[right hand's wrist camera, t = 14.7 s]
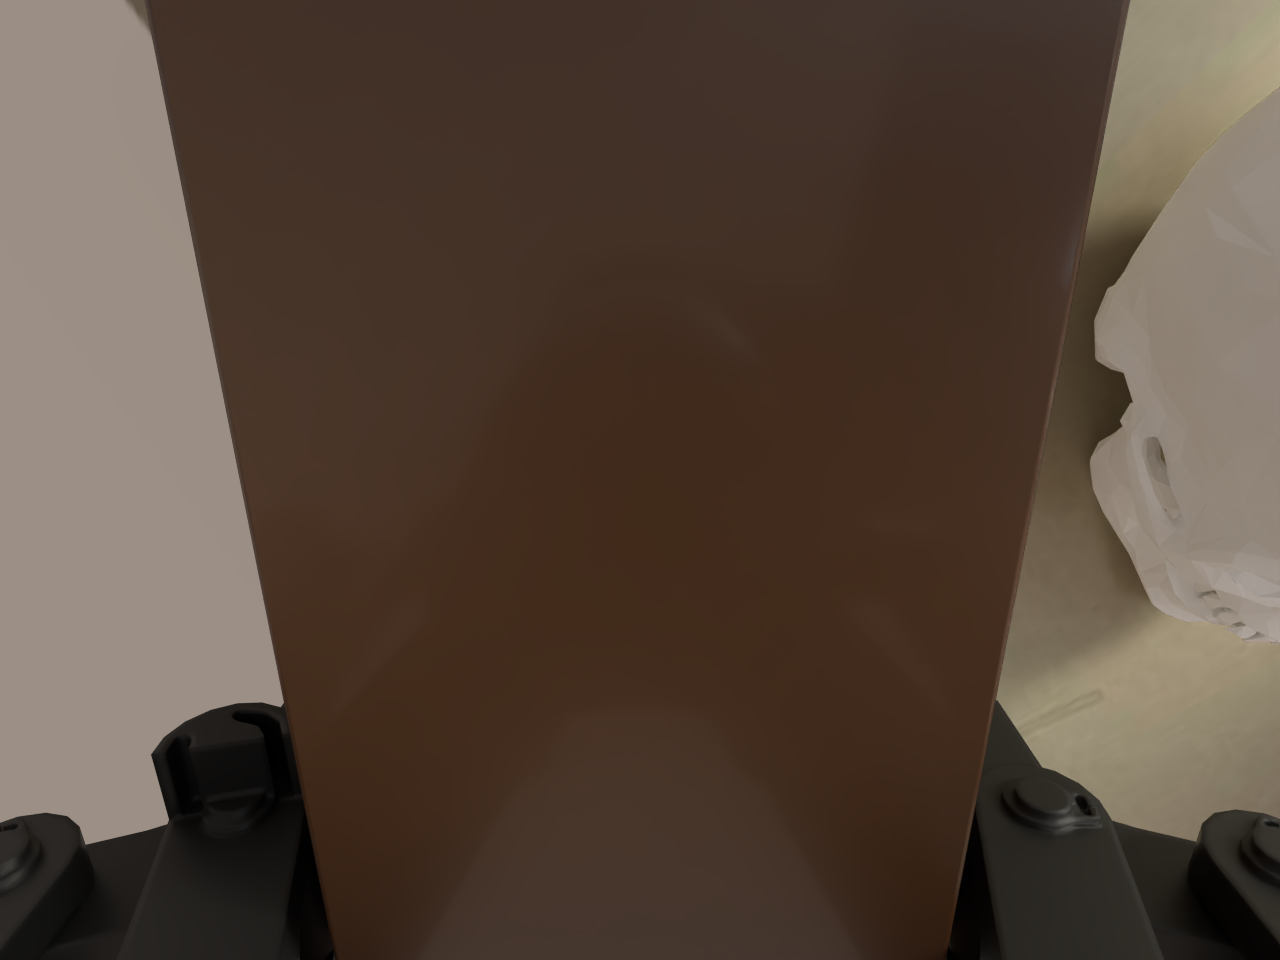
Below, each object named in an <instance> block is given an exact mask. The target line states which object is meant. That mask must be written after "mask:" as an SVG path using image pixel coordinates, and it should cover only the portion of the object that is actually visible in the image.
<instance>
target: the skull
mask: <svg viewBox="0 0 1280 960" xmlns="http://www.w3.org/2000/svg"><path fill="white" fill-rule="evenodd" d="M1094 331H1095V359H1096V360H1097V361H1098V362H1100V363H1101V364H1103V365H1105V366H1106V367H1108V368H1109V369H1112V370H1115V371H1119V372H1122V373H1124V375H1125V379H1126V382H1127V385H1128V388H1129V391H1130V394H1131V397H1132V401H1133V402H1132V403H1130V405H1129V406H1128V408H1127V410H1126V411H1125V413H1124V415H1123V416H1122V418H1121V420H1120V422H1121V424H1122V427H1121V428H1120V429H1118V430H1117V431H1116V432H1115V433H1113V434H1112V435H1110V436H1108V437H1106V438H1105V439H1103V440H1101V441H1099V443H1098V445H1097V447H1096V449H1095V450H1094V452H1093V454H1092V456H1091V459H1090V470H1091V478H1092V486H1093V490H1094V493H1095V495H1096V497H1097V499H1098V502H1099V504H1100V506H1101V508H1102V511H1103V513H1104V515H1105V516H1106V518H1107V519H1108V521H1109V523H1110V524H1111V526H1112V527H1113V529H1114V531H1115V532H1116V534H1117V535H1118V537H1119V539H1120V540H1121V542H1122V543H1123V545H1124V547H1125V548H1126V550H1127V552H1128V553H1129V555H1130V557H1131V560H1132V562H1133V564H1134V566H1135V568H1136V571H1137V573H1138V575H1139V577H1140V580H1141V582H1142V584H1143V586H1144V589H1145V591H1146V593H1147V595H1148V597H1149V599H1150V601H1151V603H1152V605H1154V606H1155V607H1156V608H1158V609H1159V610H1160V611H1162V612H1163V613H1165V614H1167V615H1169V616H1172V617H1175V618H1177V619H1180V620H1183V621H1185V622H1210V623H1216V624H1221V625H1227V626H1231V627H1229V628H1225V629H1226V630H1228V631H1230V632H1232V633H1234V634H1236V635H1238V636H1239V637H1242V638H1244V639H1242V640H1243V641H1252V642H1271V643H1273V644H1278V643H1280V87H1279V88H1278V89H1276V90H1275V91H1274V92H1273V93H1271V94H1270V95H1269V96H1267V97H1266V98H1265V99H1264V100H1262V101H1261V102H1260V103H1258V104H1257V105H1256V106H1254V107H1253V108H1252V109H1251V110H1249V111H1248V112H1247V113H1246V114H1245V115H1244V116H1243V117H1241V118H1240V119H1239V120H1238V121H1237V122H1236V123H1235V124H1233V125H1232V126H1231V127H1230V128H1229V129H1228V130H1227V131H1225V132H1224V133H1223V134H1222V135H1221V136H1220V137H1219V138H1218V139H1217V140H1216V141H1215V142H1214V143H1213V144H1212V145H1211V146H1210V148H1209V149H1208V150H1207V151H1206V152H1205V153H1204V154H1203V155H1202V156H1201V157H1200V158H1199V159H1198V160H1197V162H1196V163H1195V164H1194V166H1193V167H1192V168H1191V170H1190V171H1189V173H1188V174H1187V175H1186V177H1185V178H1184V180H1183V181H1182V182H1181V184H1180V185H1179V187H1178V188H1177V189H1176V191H1175V192H1174V194H1173V195H1172V196H1171V198H1170V199H1169V201H1168V202H1167V203H1166V205H1165V206H1164V208H1163V209H1162V211H1161V212H1160V214H1159V215H1158V217H1157V219H1156V220H1155V222H1154V223H1153V225H1152V226H1151V228H1150V229H1149V231H1148V233H1147V234H1146V236H1145V237H1144V239H1143V240H1142V242H1141V243H1140V245H1139V247H1138V248H1137V250H1136V251H1135V253H1134V254H1133V256H1132V257H1131V259H1130V261H1129V263H1128V265H1127V267H1126V269H1125V271H1124V272H1123V274H1122V275H1121V277H1120V278H1119V279H1118V281H1117V282H1116V283H1115V285H1113V286H1111V287H1109V288H1108V289H1107V291H1106V293H1105V296H1104V298H1103V301H1102V303H1101V305H1100V308H1099V310H1098V313H1097V315H1096V317H1095V320H1094ZM1160 445H1161V447H1162V450H1163V453H1164V458H1165V463H1166V464H1165V463H1164V462H1163V461H1162V460H1161V454H1160ZM1164 509H1166V510H1167V511H1165V510H1164Z"/></svg>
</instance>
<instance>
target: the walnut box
mask: <svg viewBox="0 0 1280 960" xmlns="http://www.w3.org/2000/svg"><path fill="white" fill-rule="evenodd" d="M1129 3H1130V0H145V4H146V9H147V14H148V19H149V24H150V29H151V34H152V39H153V44H154V49H155V54H156V59H157V64H158V69H159V74H160V79H161V84H162V89H163V95H164V100H165V105H166V110H167V115H168V120H169V125H170V130H171V135H172V140H173V145H174V150H175V155H176V160H177V165H178V170H179V175H180V180H181V185H182V190H183V195H184V200H185V205H186V211H187V216H188V221H189V226H190V231H191V236H192V241H193V246H194V251H195V256H196V261H197V266H198V271H199V276H200V281H201V286H202V291H203V296H204V301H205V306H206V311H207V316H208V321H209V327H210V332H211V337H212V342H213V347H214V351H215V357H216V362H217V367H218V372H219V377H220V382H221V387H222V392H223V397H224V402H225V407H226V412H227V417H228V422H229V428H230V433H231V438H232V443H233V448H234V453H235V458H236V463H237V468H238V473H239V478H240V483H241V488H242V493H243V498H244V503H245V508H246V513H247V518H248V523H249V528H250V533H251V538H252V544H253V549H254V554H255V559H256V564H257V569H258V574H259V579H260V584H261V589H262V594H263V599H264V604H265V609H266V614H267V619H268V624H269V629H270V634H271V639H272V644H273V650H274V655H275V660H276V664H277V670H278V675H279V680H280V684H281V690H282V695H283V699H284V705H285V710H286V715H287V720H288V725H289V730H290V735H291V740H292V745H293V750H294V755H295V761H296V766H297V771H298V776H299V781H300V786H301V791H302V796H303V801H304V806H305V811H306V816H307V821H308V826H309V831H310V836H311V841H312V846H313V851H314V856H315V861H316V866H317V872H318V877H319V882H320V887H321V892H322V897H323V902H324V907H325V912H326V917H327V922H328V927H329V932H330V937H331V942H332V947H333V952H334V957H335V960H946V956H947V950H948V945H949V940H950V935H951V930H952V924H953V919H954V914H955V909H956V904H957V898H958V893H959V888H960V883H961V878H962V872H963V867H964V862H965V857H966V852H967V846H968V841H969V836H970V831H971V826H972V820H973V815H974V810H975V805H976V800H977V794H978V789H979V784H980V779H981V773H982V768H983V763H984V758H985V753H986V747H987V742H988V737H989V732H990V727H991V721H992V716H993V711H994V706H995V701H996V695H997V690H998V685H999V680H1000V675H1001V669H1002V664H1003V659H1004V654H1005V649H1006V643H1007V638H1008V633H1009V628H1010V622H1011V617H1012V612H1013V607H1014V602H1015V596H1016V591H1017V586H1018V581H1019V576H1020V570H1021V565H1022V560H1023V555H1024V550H1025V544H1026V539H1027V534H1028V529H1029V524H1030V518H1031V513H1032V508H1033V503H1034V498H1035V492H1036V487H1037V482H1038V477H1039V471H1040V466H1041V461H1042V456H1043V451H1044V445H1045V440H1046V435H1047V430H1048V425H1049V419H1050V414H1051V409H1052V404H1053V399H1054V393H1055V388H1056V383H1057V378H1058V373H1059V367H1060V362H1061V357H1062V352H1063V347H1064V341H1065V336H1066V331H1067V326H1068V320H1069V315H1070V310H1071V305H1072V300H1073V294H1074V289H1075V284H1076V279H1077V274H1078V268H1079V263H1080V258H1081V253H1082V248H1083V242H1084V237H1085V232H1086V227H1087V222H1088V216H1089V211H1090V206H1091V201H1092V196H1093V190H1094V185H1095V180H1096V175H1097V170H1098V164H1099V159H1100V154H1101V149H1102V143H1103V138H1104V133H1105V128H1106V123H1107V117H1108V112H1109V107H1110V102H1111V97H1112V91H1113V86H1114V81H1115V76H1116V71H1117V65H1118V60H1119V55H1120V50H1121V45H1122V39H1123V34H1124V29H1125V24H1126V19H1127V13H1128V8H1129Z"/></svg>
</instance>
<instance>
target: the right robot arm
mask: <svg viewBox="0 0 1280 960" xmlns="http://www.w3.org/2000/svg"><path fill="white" fill-rule="evenodd" d="M151 756H152V759H153V763H154V767H155V770H156V774H157V777H158V781H159V785H160V788H161V792H162V796H163V799H164V803H165V806H166V810H167V814H168V817H169V822H168V824H167V825H164V826H160V827H157V828H154V829H150V830H147V831H143V832H139V833H135V834H131V835H126V836H122V837H117V838H113V839H109V840H105V841H100V842H96V843H92V844H87V845H85V842H84V839H83V836H82V833H81V830H80V827H79V826H78V825H77V824H76V823H75V822H73V821H72V820H71V819H70V818H69V817H67V816H62V815H56V814H50V813H42V814H34V815H27V816H20V817H16V818H13V819H10V820H7V821H4V822H1V823H0V960H335V957H334V952H333V947H332V942H331V937H330V932H329V927H328V922H327V917H326V912H325V907H324V902H323V897H322V892H321V887H320V882H319V877H318V872H317V866H316V861H315V856H314V851H313V846H312V841H311V836H310V831H309V826H308V821H307V816H306V811H305V806H304V801H303V796H302V791H301V786H300V781H299V776H298V771H297V766H296V761H295V755H294V750H293V745H292V740H291V735H290V730H289V725H288V720H287V715H286V710H285V705H284V703H283V705H282V706H281V707H277V706H273V705H269V704H266V703H237V704H233V705H229V706H225V707H221V708H217V709H213V710H210V711H208V712H205V713H203V714H201V715H199V716H197V717H194V718H192V719H190V720H188V721H186V722H184V723H183V724H181V725H180V726H179V727H177V728H176V729H175V730H173V731H172V732H171V733H169V734H168V735H166V736H165V737H164V738H163V739H162V741H161V742H160V743H159V745H158V746H157V747H156V749H155V750H154V751H153V753H152V754H151ZM946 960H1280V819H1278V818H1276V817H1273V816H1270V815H1267V814H1264V813H1257V812H1249V811H1242V810H1230V811H1224V812H1218V813H1214V814H1213V815H1212V816H1210V817H1209V818H1208V819H1207V820H1206V821H1205V822H1203V823H1202V826H1201V829H1200V832H1199V835H1198V838H1197V841H1196V842H1195V841H1190V840H1186V839H1182V838H1177V837H1173V836H1169V835H1164V834H1160V833H1156V832H1151V831H1147V830H1143V829H1139V828H1134V827H1131V826H1128V825H1125V824H1121V823H1118V822H1115V821H1112V820H1111V818H1110V816H1109V815H1108V813H1107V812H1106V810H1105V809H1104V807H1103V806H1102V804H1101V802H1100V801H1099V800H1098V799H1097V798H1096V797H1095V796H1093V795H1092V794H1091V793H1090V792H1089V791H1087V790H1086V789H1085V788H1084V787H1083V786H1081V785H1080V784H1079V783H1077V782H1075V781H1073V780H1071V779H1069V778H1067V777H1065V776H1063V775H1061V774H1060V773H1058V772H1056V771H1053V770H1049V769H1046V768H1042V767H1041V765H1040V764H1039V762H1038V761H1037V759H1036V758H1035V756H1034V755H1033V753H1032V752H1031V750H1030V749H1029V747H1028V746H1027V744H1026V743H1025V741H1024V740H1023V738H1022V737H1021V735H1020V734H1019V732H1018V731H1017V729H1016V728H1015V726H1014V725H1013V723H1012V722H1011V720H1010V719H1009V717H1008V716H1007V714H1006V713H1005V711H1004V710H1003V708H1002V707H1001V705H1000V704H999V702H998V701H995V706H994V711H993V716H992V721H991V727H990V732H989V737H988V742H987V747H986V753H985V758H984V763H983V768H982V773H981V779H980V784H979V789H978V794H977V800H976V805H975V810H974V815H973V820H972V826H971V831H970V836H969V841H968V846H967V852H966V857H965V862H964V867H963V872H962V878H961V883H960V888H959V893H958V898H957V904H956V909H955V914H954V919H953V924H952V930H951V935H950V940H949V945H948V950H947V956H946Z"/></svg>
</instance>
